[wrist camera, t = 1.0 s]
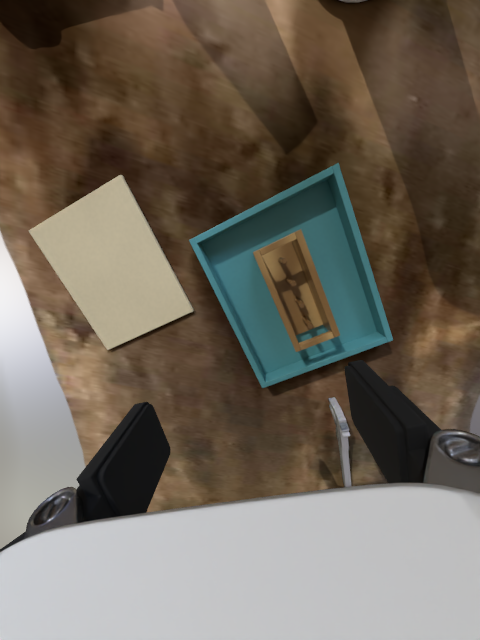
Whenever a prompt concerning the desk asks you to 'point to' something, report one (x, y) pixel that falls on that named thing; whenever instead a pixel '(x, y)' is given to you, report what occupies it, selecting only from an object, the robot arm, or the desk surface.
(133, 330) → the mat
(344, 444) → the caliper
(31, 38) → the desk surface
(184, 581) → the robot arm
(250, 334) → the teal tray
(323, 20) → the desk surface
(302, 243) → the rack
